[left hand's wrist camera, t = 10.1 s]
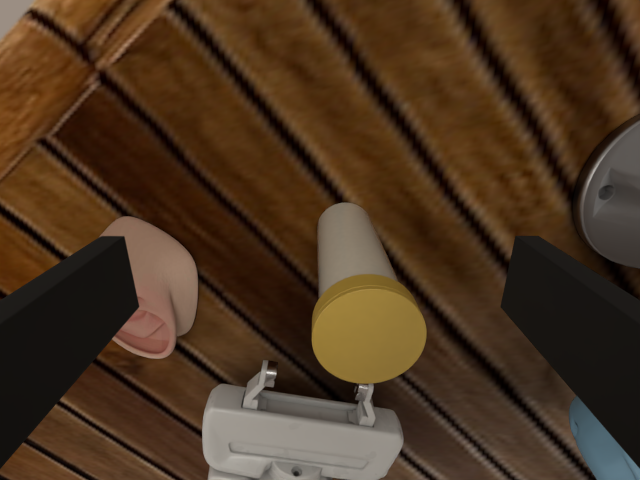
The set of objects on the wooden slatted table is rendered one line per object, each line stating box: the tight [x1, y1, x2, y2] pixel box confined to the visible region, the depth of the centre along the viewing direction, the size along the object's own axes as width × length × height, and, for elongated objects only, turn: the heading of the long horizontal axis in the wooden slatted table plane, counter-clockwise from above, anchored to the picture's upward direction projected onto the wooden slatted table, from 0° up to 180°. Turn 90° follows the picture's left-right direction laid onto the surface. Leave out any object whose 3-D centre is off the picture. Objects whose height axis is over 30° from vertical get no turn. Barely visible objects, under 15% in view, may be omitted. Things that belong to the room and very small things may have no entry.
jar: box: [317, 203, 399, 298], centre depth 28 cm, size 5×5×17 cm
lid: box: [312, 274, 427, 384], centre depth 21 cm, size 6×6×2 cm
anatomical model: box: [100, 216, 198, 359], centre depth 36 cm, size 13×4×12 cm
